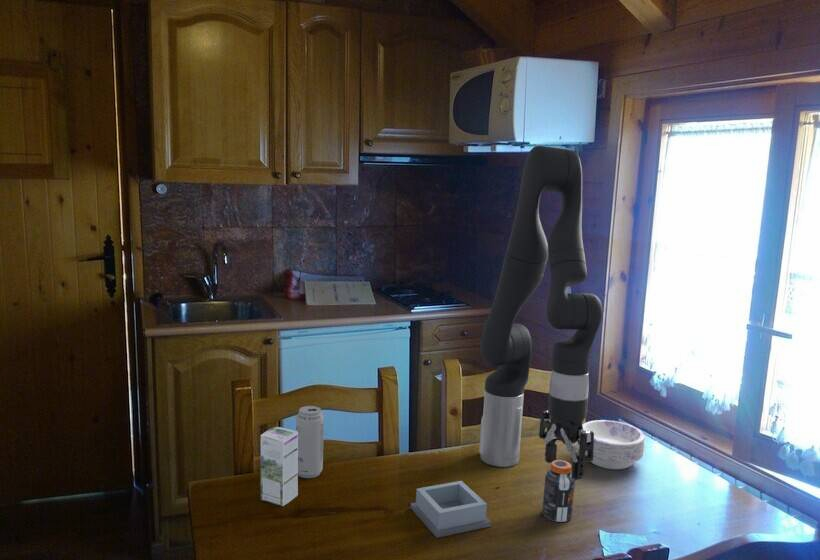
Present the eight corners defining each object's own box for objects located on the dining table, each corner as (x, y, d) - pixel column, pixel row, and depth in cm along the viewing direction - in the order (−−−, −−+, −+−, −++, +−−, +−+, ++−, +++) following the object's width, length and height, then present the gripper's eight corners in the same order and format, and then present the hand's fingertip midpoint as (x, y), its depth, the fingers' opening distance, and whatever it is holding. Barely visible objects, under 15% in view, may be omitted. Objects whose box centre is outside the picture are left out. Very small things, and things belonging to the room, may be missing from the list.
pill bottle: (572, 524, 138) (576, 471, 136) (541, 520, 139) (546, 468, 137) (571, 510, 143) (575, 459, 141) (542, 506, 145) (546, 455, 143)
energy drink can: (293, 468, 157) (294, 405, 154) (320, 466, 159) (321, 404, 156) (297, 480, 151) (298, 415, 149) (324, 478, 153) (326, 413, 150)
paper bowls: (567, 463, 166) (570, 432, 165) (590, 443, 178) (592, 414, 177) (630, 482, 157) (634, 449, 156) (649, 460, 170) (653, 429, 168)
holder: (410, 507, 141) (411, 487, 141) (461, 498, 146) (463, 478, 146) (436, 537, 131) (437, 515, 130) (491, 526, 136) (492, 505, 135)
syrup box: (298, 495, 145) (299, 430, 142) (282, 507, 139) (283, 440, 137) (276, 489, 147) (276, 424, 144) (259, 501, 142) (259, 434, 139)
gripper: (608, 401, 132) (601, 481, 134) (561, 380, 144) (556, 453, 147) (576, 406, 129) (570, 488, 131) (531, 384, 141) (527, 459, 144)
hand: (563, 470), depth 139 cm, fingers open, 8 cm apart
